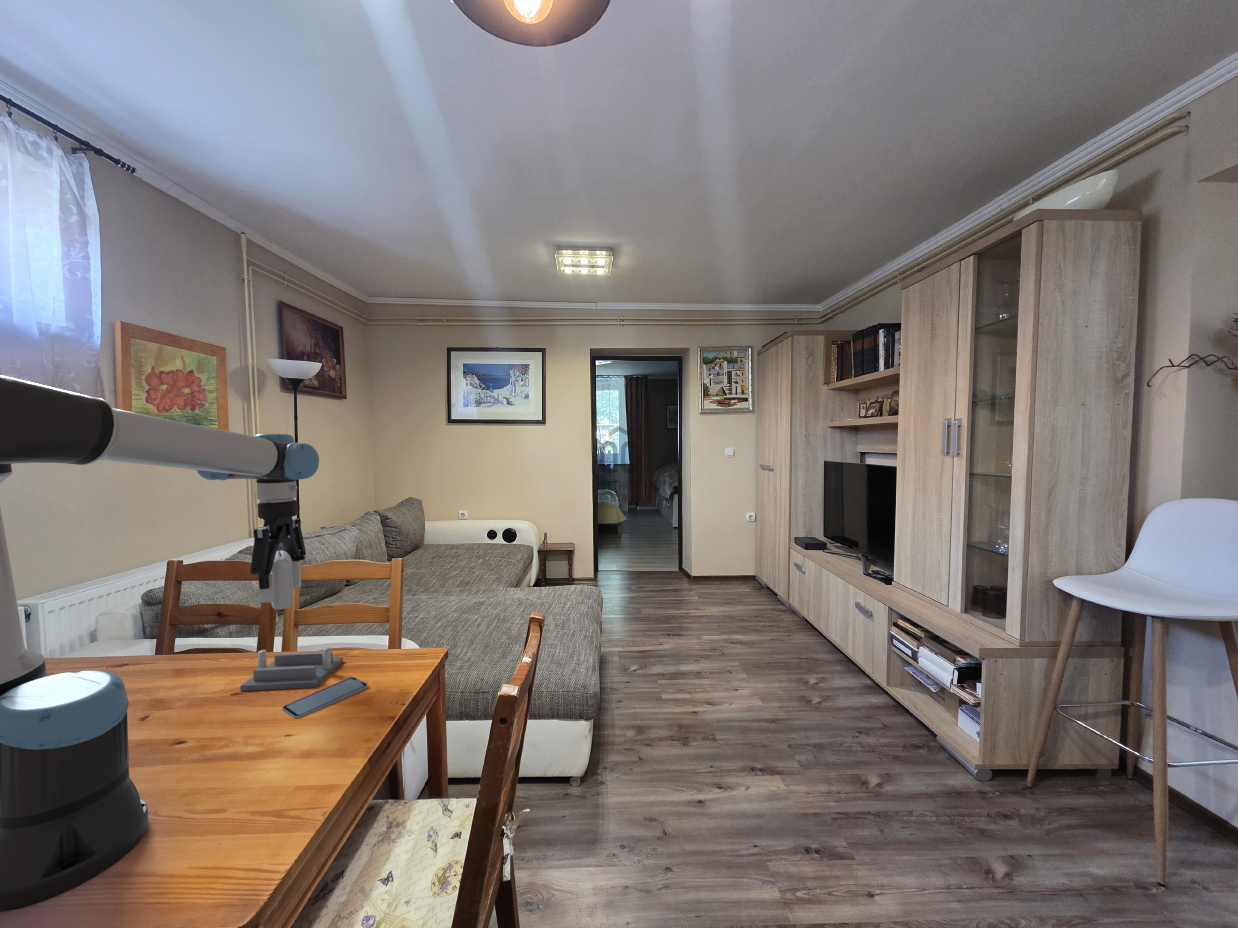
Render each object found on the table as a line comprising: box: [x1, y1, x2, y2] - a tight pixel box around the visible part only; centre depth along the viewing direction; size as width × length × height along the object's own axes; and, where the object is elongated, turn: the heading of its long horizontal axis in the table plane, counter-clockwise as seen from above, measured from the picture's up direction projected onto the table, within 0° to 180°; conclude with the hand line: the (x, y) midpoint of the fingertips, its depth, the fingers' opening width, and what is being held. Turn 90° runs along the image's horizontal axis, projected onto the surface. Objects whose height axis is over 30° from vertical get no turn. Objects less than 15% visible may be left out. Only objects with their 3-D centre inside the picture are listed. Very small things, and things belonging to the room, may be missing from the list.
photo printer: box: [271, 550, 295, 610], centre depth 109 cm, size 10×4×12 cm, turn 40°
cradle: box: [239, 646, 344, 692], centre depth 112 cm, size 13×16×6 cm
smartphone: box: [281, 676, 368, 719], centre depth 102 cm, size 7×1×15 cm
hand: (281, 594), depth 109 cm, fingers closed on photo printer, 10 cm apart
